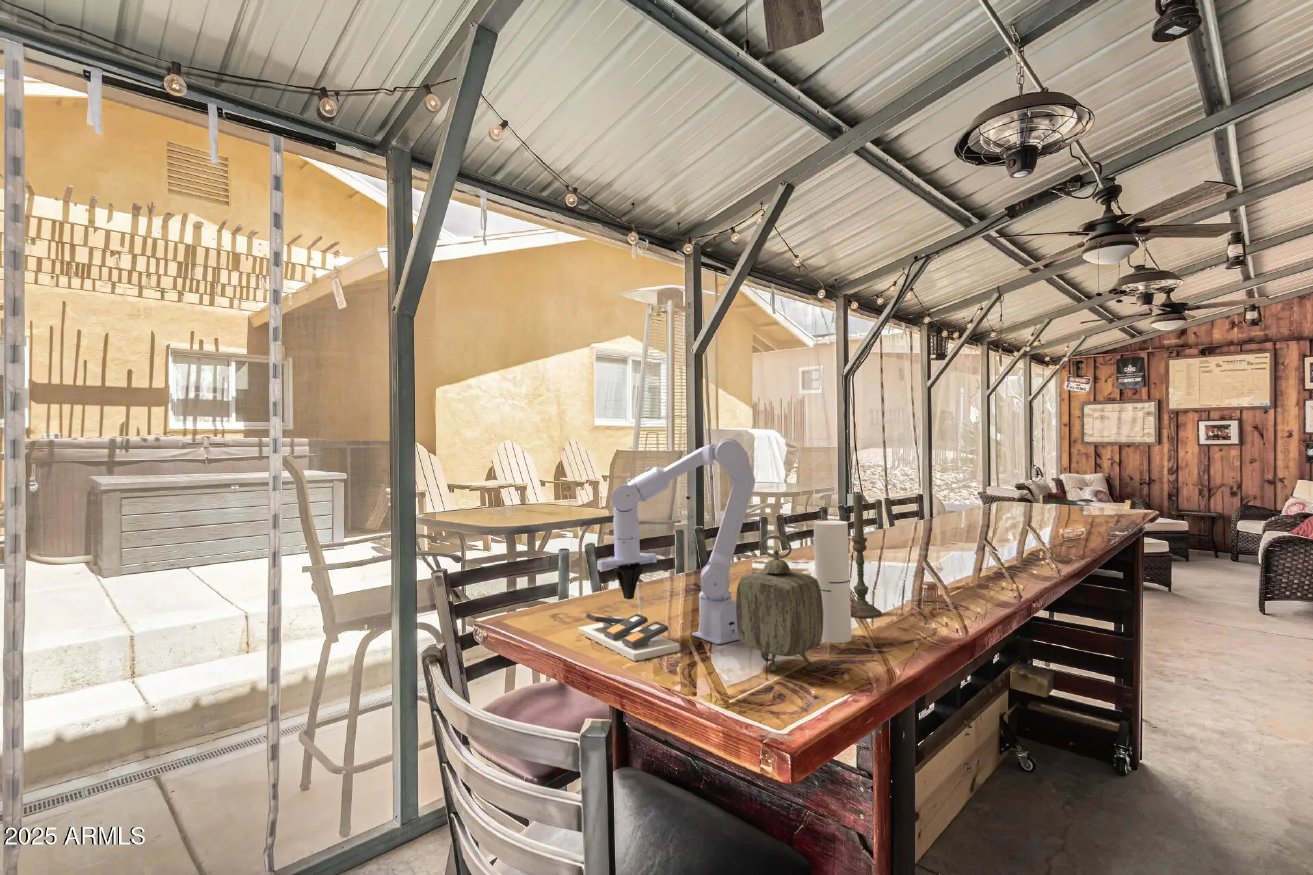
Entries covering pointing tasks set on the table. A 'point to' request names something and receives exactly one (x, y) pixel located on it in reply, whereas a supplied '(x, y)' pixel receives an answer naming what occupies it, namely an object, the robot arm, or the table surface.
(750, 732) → the table surface
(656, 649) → the switch strip
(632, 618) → the rocker middle
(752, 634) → the tabletop clock
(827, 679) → the table surface
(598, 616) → the rocker far
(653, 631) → the rocker near
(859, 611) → the candlestick holder
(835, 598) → the cylindrical container
